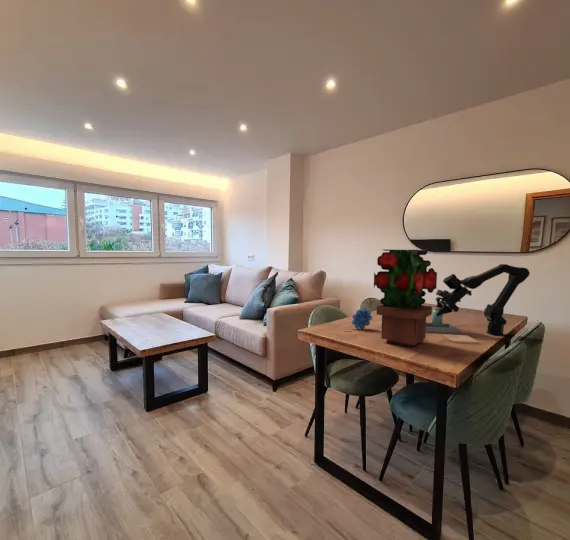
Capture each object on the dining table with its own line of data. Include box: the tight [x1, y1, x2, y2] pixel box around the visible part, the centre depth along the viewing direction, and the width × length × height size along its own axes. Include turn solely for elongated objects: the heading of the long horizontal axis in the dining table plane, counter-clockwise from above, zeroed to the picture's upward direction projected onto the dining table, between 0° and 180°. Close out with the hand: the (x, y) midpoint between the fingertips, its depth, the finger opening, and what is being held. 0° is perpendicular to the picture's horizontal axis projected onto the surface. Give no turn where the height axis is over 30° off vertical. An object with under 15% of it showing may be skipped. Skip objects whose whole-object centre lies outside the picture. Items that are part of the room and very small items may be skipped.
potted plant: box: [373, 248, 438, 348], centre depth 144 cm, size 22×22×45 cm
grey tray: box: [426, 322, 460, 335], centre depth 166 cm, size 18×12×4 cm, turn 83°
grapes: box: [351, 307, 373, 330], centre depth 170 cm, size 12×7×12 cm, turn 93°
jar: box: [431, 306, 444, 327], centre depth 166 cm, size 5×5×10 cm
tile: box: [442, 333, 480, 345], centre depth 150 cm, size 12×12×1 cm
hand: (434, 314), depth 166 cm, fingers closed on jar, 5 cm apart
